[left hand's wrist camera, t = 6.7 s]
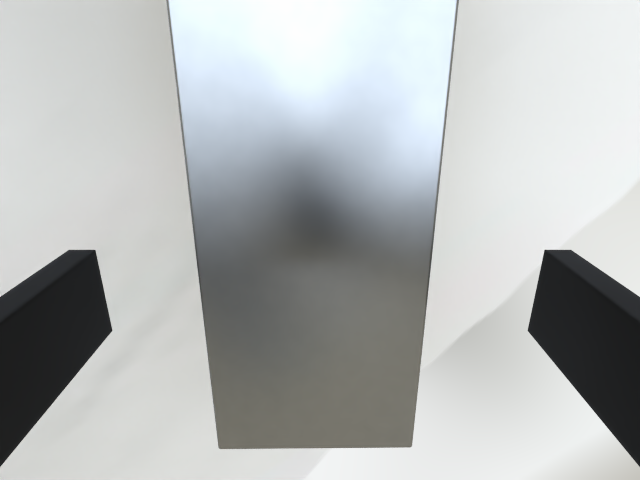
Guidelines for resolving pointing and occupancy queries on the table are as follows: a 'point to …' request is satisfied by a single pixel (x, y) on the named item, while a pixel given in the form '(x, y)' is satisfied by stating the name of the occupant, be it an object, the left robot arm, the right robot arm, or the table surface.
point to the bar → (313, 208)
